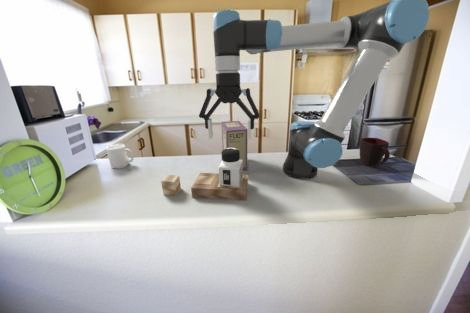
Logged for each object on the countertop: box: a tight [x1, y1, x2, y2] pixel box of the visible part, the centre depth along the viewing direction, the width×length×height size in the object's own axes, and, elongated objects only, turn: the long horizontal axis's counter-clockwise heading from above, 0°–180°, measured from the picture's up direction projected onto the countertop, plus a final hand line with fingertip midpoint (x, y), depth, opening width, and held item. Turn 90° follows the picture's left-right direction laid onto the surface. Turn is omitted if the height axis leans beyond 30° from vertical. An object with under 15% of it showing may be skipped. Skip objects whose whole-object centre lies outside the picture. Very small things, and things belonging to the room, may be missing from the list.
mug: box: [359, 137, 391, 168], centre depth 94 cm, size 10×14×12 cm
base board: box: [190, 172, 249, 201], centre depth 78 cm, size 20×12×4 cm, turn 83°
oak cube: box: [160, 174, 182, 196], centre depth 78 cm, size 5×5×6 cm
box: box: [220, 120, 248, 172], centre depth 97 cm, size 17×9×20 cm, turn 11°
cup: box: [105, 143, 134, 169], centre depth 100 cm, size 8×12×10 cm
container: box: [217, 148, 244, 187], centre depth 75 cm, size 8×8×13 cm
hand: (229, 137), depth 70 cm, fingers open, 13 cm apart
